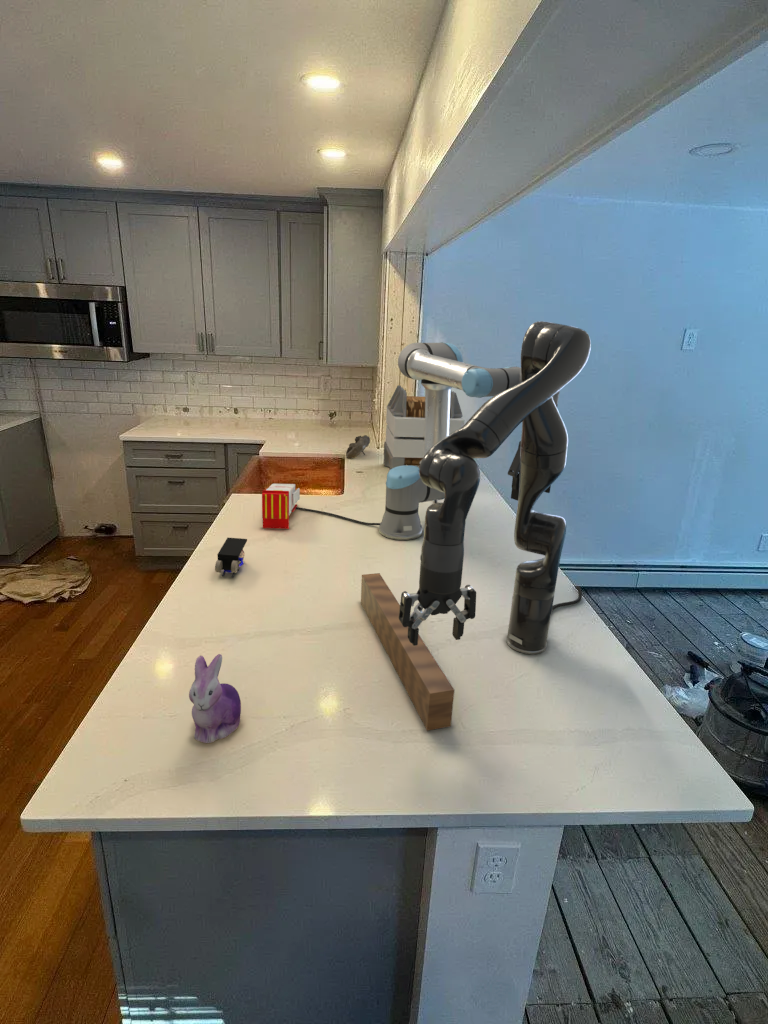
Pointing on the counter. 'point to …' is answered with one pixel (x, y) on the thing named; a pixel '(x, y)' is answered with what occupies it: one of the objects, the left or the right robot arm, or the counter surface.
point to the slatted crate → (411, 428)
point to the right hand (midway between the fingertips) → (435, 640)
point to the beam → (408, 655)
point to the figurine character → (230, 556)
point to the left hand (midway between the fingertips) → (530, 495)
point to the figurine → (213, 702)
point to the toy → (279, 505)
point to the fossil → (357, 446)
